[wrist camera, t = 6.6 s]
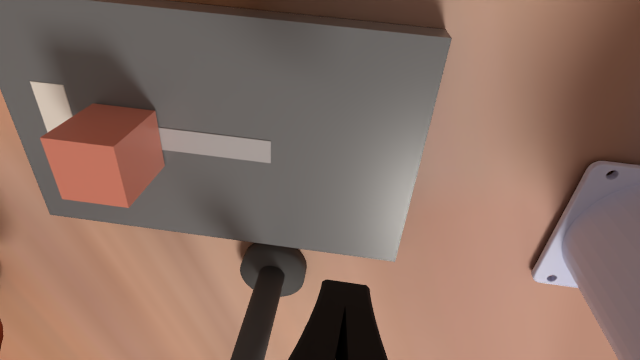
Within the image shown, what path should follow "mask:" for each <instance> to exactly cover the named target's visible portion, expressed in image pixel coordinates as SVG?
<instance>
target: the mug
mask: <svg viewBox="0 0 640 360" xmlns="http://www.w3.org/2000/svg"><path fill="white" fill-rule="evenodd" d="M2 340H3V325H2V322H1V320H0V349H1V343H2Z"/></svg>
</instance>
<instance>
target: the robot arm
mask: <svg viewBox="0 0 640 360" xmlns="http://www.w3.org/2000/svg"><path fill="white" fill-rule="evenodd" d="M612 170H614V172H613V173H612V174H610V175H606V174H607V173H608V172H610V171H612ZM531 274H532V277H533V279H534V280H535V281H536V282H539V283H547V284H554V285H561V286H569V287H576V288H579V290H580V291H581V293H582V295H583V297H584V299H585V300H586V302H587V304H588V306H589V308H590V309H591V311H592V313H593V315H594V316H595V318H596V320H597V322H598V324H599V325H600V327H601V329H602V331H603V333H604V334H605V336H606V338H607V340H608V342H609V343H610V345H611V347H612V349H613V351H614V352H615V354H616V356H617V358H618V360H640V165H634V164H625V163H617V162H609V161H597V162H594V163H592V164H591V165H589V167H588V168H587V169H586V171H585V173H584V175H583V177H582V179H581V181H580V182H579V184H578V186H577V188H576V190H575V192H574V194H573V195H572V197H571V199H570V201H569V203H568V205H567V207H566V208H565V210H564V212H563V214H562V216H561V218H560V220H559V222H558V223H557V225H556V227H555V229H554V231H553V233H552V235H551V236H550V238H549V240H548V242H547V244H546V246H545V248H544V250H543V251H542V253H541V255H540V257H539V259H538V261H537V263H536V264H535V266H534V268H533V270H532V273H531ZM550 275H552V276H550ZM335 359H336V360H388V359H387V356H386V353H385V350H384V347H383V344H382V341H381V338H380V334H379V331H378V327H377V324H376V320H375V316H374V312H373V307H372V302H371V297H370V289H369V288H368V287H367V285H360V284H354V283H347V282H340V281H333V280H324V281H323V282H322V285H321V290H320V293H319V296H318V299H317V302H316V304H315V307H314V309H313V312H312V314H311V317H310V319H309V321H308V323H307V325H306V327H305V329H304V331H303V333H302V335H301V337H300V339H299V341H298V343H297V345H296V347H295V348H294V350H293V352H292V354H291V355H290V357H289V359H288V360H335Z"/></svg>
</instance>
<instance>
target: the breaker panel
mask: <svg viewBox="0 0 640 360" xmlns="http://www.w3.org/2000/svg"><path fill="white" fill-rule="evenodd" d="M451 39H452V38H451V37H450V35H449V34H448V32H447V31H446V29H438V28H428V27H419V26H409V25H399V24H390V23H380V22H370V21H361V20H351V19H341V18H332V17H322V16H312V15H303V14H293V13H283V12H274V11H264V10H254V9H245V8H235V7H225V6H215V5H206V4H196V3H186V2H177V1H167V0H0V89H1V92H2V94H3V97H4V99H5V102H6V105H7V107H8V110H9V112H10V115H11V117H12V120H13V122H14V125H15V127H16V130H17V132H18V135H19V137H20V140H21V142H22V145H23V147H24V150H25V152H26V155H27V157H28V160H29V163H30V165H31V168H32V170H33V173H34V175H35V178H36V180H37V183H38V185H39V188H40V190H41V193H42V195H43V198H44V200H45V203H46V205H47V208H48V210H49V213H50V215H57V216H64V217H71V218H79V219H86V220H93V221H101V222H108V223H115V224H123V225H130V226H137V227H145V228H152V229H159V230H166V231H174V232H181V233H188V234H196V235H203V236H210V237H218V238H225V239H232V240H240V241H247V242H254V243H262V244H269V245H276V246H284V247H291V248H298V249H305V250H313V251H320V252H327V253H335V254H342V255H349V256H357V257H364V258H371V259H379V260H386V261H393V262H395V260H396V256H397V252H398V248H399V244H400V240H401V236H402V232H403V228H404V224H405V220H406V216H407V212H408V208H409V205H410V201H411V197H412V193H413V189H414V185H415V181H416V177H417V173H418V169H419V165H420V161H421V157H422V153H423V149H424V145H425V141H426V137H427V133H428V129H429V126H430V122H431V118H432V114H433V110H434V106H435V102H436V98H437V94H438V90H439V86H440V82H441V78H442V74H443V70H444V66H445V62H446V58H447V54H448V50H449V47H450V43H451ZM93 103H94V104H103V105H111V106H120V107H128V108H136V109H145V110H153V111H155V112H156V118H157V123H158V129H159V135H160V141H161V147H162V152H163V158H164V164H165V166H164V167H163V169H162V170H161V171H160V172H159V173H158V174H157V176H156V177H155V178H154V179H153V180H152V181H151V183H150V184H149V185H148V186H147V187H146V188H145V190H144V191H143V192H142V193H141V194H140V195H139V197H138V198H137V199H136V200H135V201H134V202H133V204H132V205H131V206H130V207H129V208H125V207H118V206H110V205H103V204H95V203H88V202H80V201H73V200H66V199H62V197H61V195H60V192H59V189H58V186H57V184H56V181H55V178H54V175H53V173H52V170H51V167H50V164H49V162H48V159H47V156H46V153H45V151H44V148H43V145H42V142H41V140H40V137H42V136H43V135H45V134H46V133H48V132H49V131H51V130H52V129H54V128H56V127H57V126H59V125H60V124H62V123H63V122H65V121H66V120H68V119H69V118H71V117H73V116H74V115H76V114H77V113H79V112H80V111H82V110H83V109H85V108H87V107H88V106H90V105H91V104H93Z"/></svg>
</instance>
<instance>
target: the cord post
mask: <svg viewBox="0 0 640 360" xmlns="http://www.w3.org/2000/svg"><path fill="white" fill-rule="evenodd" d="M240 272H241V276H242V278H243V280H244V281H245V282H246V284H247V285H248V286H250V287H251V288H252V289H254V290H253V293H252V296H251V299H250V302H249V305H248V308H247V311H246V314H245V317H244V320H243V323H242V326H241V329H240V332H239V336H238V339H237V342H236V345H235V348H234V351H233V354H232V357H231V360H264V358H265V354H266V350H267V346H268V342H269V338H270V334H271V330H272V326H273V322H274V318H275V314H276V310H277V306H278V303H279V299H280V297H282V296H288V295H291V294H294V293H295V292H297V291H298V290H299V289H300V288H301V287H302V285H303V283H304V278H305V273H306V261H305V258H304V256H303V255H302V254H301V252H300V251H299V250H298V249H296V248H291V247H284V246H276V245H269V244H262V243H254V244H252V245H251V246H250V247H249V248H248V249H247V251H246V253H245V256H244V258H243V261H242V263H241V267H240Z"/></svg>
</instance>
